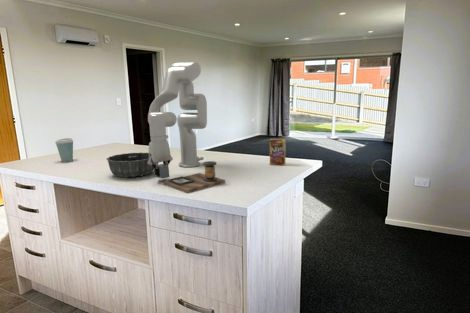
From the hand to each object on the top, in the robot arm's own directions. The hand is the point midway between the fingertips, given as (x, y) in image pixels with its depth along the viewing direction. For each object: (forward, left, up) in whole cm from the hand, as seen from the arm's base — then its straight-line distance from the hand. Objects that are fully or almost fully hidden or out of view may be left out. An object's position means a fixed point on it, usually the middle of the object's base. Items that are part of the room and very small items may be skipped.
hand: (161, 174), depth 162 cm
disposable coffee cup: (+19, -91, -3) cm, 93 cm away
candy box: (-65, +21, -3) cm, 69 cm away
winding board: (-7, +17, -3) cm, 19 cm away
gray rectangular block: (0, +1, -1) cm, 2 cm away
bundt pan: (+4, -24, -3) cm, 24 cm away
